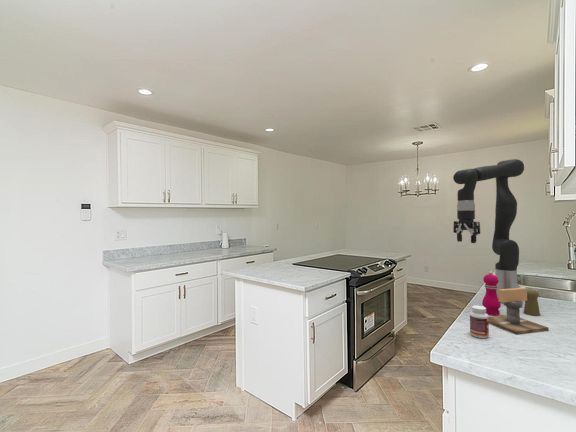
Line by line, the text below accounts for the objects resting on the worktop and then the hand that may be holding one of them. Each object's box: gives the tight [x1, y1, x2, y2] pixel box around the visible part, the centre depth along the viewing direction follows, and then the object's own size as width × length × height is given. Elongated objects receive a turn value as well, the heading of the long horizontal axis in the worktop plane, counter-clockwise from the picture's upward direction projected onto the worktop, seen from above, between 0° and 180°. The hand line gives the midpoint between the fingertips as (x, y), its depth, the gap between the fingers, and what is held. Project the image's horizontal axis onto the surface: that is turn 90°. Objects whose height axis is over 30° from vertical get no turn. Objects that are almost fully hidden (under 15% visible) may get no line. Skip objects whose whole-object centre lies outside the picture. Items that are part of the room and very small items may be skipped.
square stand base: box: [488, 306, 549, 336], centre depth 125 cm, size 16×16×8 cm
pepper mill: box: [481, 270, 502, 316], centre depth 140 cm, size 7×7×20 cm
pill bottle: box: [469, 305, 490, 339], centre depth 115 cm, size 6×6×11 cm
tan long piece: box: [498, 285, 528, 309], centre depth 125 cm, size 6×12×8 cm, turn 100°
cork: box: [523, 289, 541, 317], centre depth 138 cm, size 6×6×11 cm
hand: (466, 242), depth 147 cm, fingers open, 8 cm apart
